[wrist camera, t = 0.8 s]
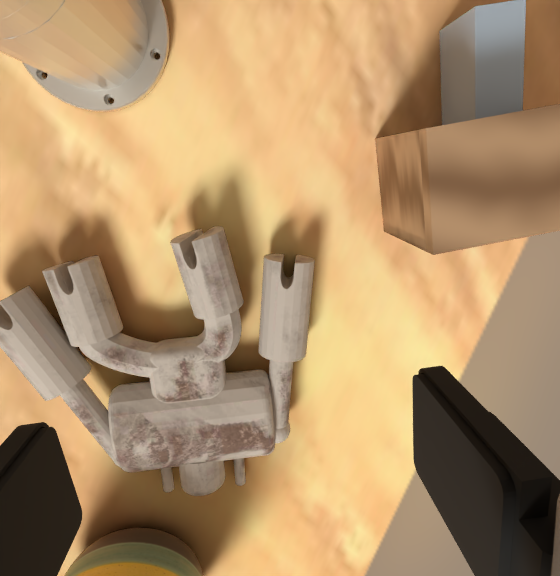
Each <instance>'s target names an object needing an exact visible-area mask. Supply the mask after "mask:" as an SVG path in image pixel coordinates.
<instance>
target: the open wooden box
mask: <svg viewBox="0 0 560 576" xmlns="http://www.w3.org/2000/svg"><path fill="white" fill-rule="evenodd" d="M375 140H376V151H377V162H378V172H379V183H380V193H381V204H382V215H383V225H384V232H387V233H389V234H391V235H393V236H395V237H397V238H399V239H401V240H403V241H405V242H408V243H410V244H412V245H414V246H416V247H418V248H420V249H422V250H424V251H426V252H429V253H431V254H433V255H435V254H440V253H445V252H451V251H456V250H461V249H466V248H471V247H477V246H482V245H487V244H492V243H497V242H503V241H508V240H513V239H518V238H524V237H529V236H534V235H539V234H544V233H550V232H555V231H560V104H556V105H551V106H545V107H540V108H534V109H529V110H523V111H518V112H512V113H507V114H502V115H496V116H491V117H485V118H480V119H474V120H469V121H463V122H458V123H452V124H447V125H441V126H436V127H430V128H425V129H420V130H415V131H410V132H405V133H400V134H395V135H391V136H386V137H381V138H376V139H375Z"/></svg>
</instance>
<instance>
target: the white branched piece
mask: <svg viewBox="0 0 560 576" xmlns="http://www.w3.org/2000/svg"><path fill="white" fill-rule="evenodd" d="M170 243H171V246H172V249H173V252H174V255H175V258H176V261H177V264H178V267H179V270H180V273H181V276H182V279H183V282H184V286H185V289H186V292H187V295H188V298H189V301H190V304H191V307H192V310H193V313H194V316H195V317H196V318H198V319H204V330H203V332H202V333H201V334H200V335H198V336H195V337H185V338H175V339H166V340H162V341H159V342H157V343H155V342H149V341H144V340H140V339H137V338H133V337H131V336H128V335H125V334H123V333H121V332H120V331H121V330H123V324H122V321H121V319H120V316H119V313H118V310H117V307H116V304H115V301H114V298H113V295H112V293H111V290H110V287H109V284H108V281H107V278H106V275H105V272H104V270H103V267H102V264H101V261H100V258H99V256H91V257H87V258H84V259H82V260H80V261H78V262H76V263H74V262H73V261H69V262H65V263H62V264H59V265H55V266H52V267H49V268H47V269H44V270H42V272H43V275H44V277H45V280H46V282H47V285H48V287H49V290H50V293H51V295H52V298H53V300H54V303H55V305H56V308H57V311H58V313H59V316H60V318H61V321H62V323H63V326H64V329H65V331H66V333H65V332H64V331H63V329H62V328H61V327H60V325H59V324H58V323H57V321H56V320H55V319H54V318H53V316H52V315H51V314H50V312H49V311H48V310H47V308H46V307H45V306H44V304H43V303H42V302H41V301H40V299H39V298H38V297H37V295H36V294H35V293H34V291H33V290H32V289H31V287H30V286H27V287H25V288H23V289H22V290H20V291H18V292H16V293H14V294H13V295H11V296H9V297H7V298H5V299H3V300H1V301H0V347H1V348H2V350H3V351H4V352H5V353H6V354H7V356H8V357H9V358H10V359H11V360H12V362H13V363H14V364H15V365H16V366H17V368H18V369H19V370H20V371H21V372H22V373H23V375H24V376H25V377H26V378H27V379H28V381H29V382H30V383H31V384H32V385H33V387H34V388H35V389H36V390H37V391H38V393H39V394H40V395H41V396H42V397H43V399H44V400H45V401H46V400H51V399H53V398H55V397H57V396H59V395H60V396H61V397H62V399H63V400H64V401H65V402H66V404H67V405H68V406H69V407H70V408H71V410H72V411H73V412H74V413H75V415H76V416H77V417H78V418H79V419H80V421H81V422H82V423H83V424H84V426H85V427H86V428H87V429H88V430H89V432H90V433H91V434H92V435H93V437H94V438H95V439H96V440H97V442H98V443H99V444H100V445H101V446H102V448H103V449H104V450H105V451H106V453H107V454H108V455H109V456H110V457H111V459H112V460H113V461H114V463H115V464H116V465H117V466H119V467H121V469H122V470H124V471H126V472H139V471H147V470H155V469H161V476H162V483H163V490H164V492H171V491H172V490H173V489H174V480H173V473H172V467H178V466H179V472H180V480H181V487H182V489H183V491H184V492H186V493H187V494H189V495H193V496H203V495H208V494H210V493H212V492H215V491H216V490H217V489H219V488H220V487H221V486H222V484H223V483H224V481H225V468H224V461H225V460H234V472H235V483H236V485H238V486H241V485H244V484H245V483H246V478H245V464H244V458H248V457H256V456H264V455H269V454H271V453H272V452H273V450H274V448H275V443H281V442H283V441H284V440H286V439H287V437H288V436H289V433H290V424H289V422H288V419H289V407H290V395H291V383H292V372H293V362H296V361H299V360H301V359H303V358H304V357H305V355H306V348H307V338H308V327H309V316H310V305H311V295H312V284H313V273H314V262H315V260H314V259H313V258H311V257H307V256H303V255H296V259H295V267H294V274H293V275H292V276H291V277H290V278H287V277H286V276H285V274H284V271H283V264H284V254H268V255H265V256H264V266H263V283H262V299H261V316H260V333H259V354H260V355H261V356H262V357H264V358H266V359H269V360H270V363H269V376H268V374H267V373H266V372H265V371H264V370H250V371H241V372H231V373H226V367H225V360H226V359H227V358H228V357H229V356H230V355H231V354H232V353H233V352H234V350H235V349H236V347H237V345H238V343H239V340H240V336H241V318H240V313H239V308H240V307H241V306H242V305H243V302H244V301H243V297H242V294H241V290H240V287H239V283H238V279H237V276H236V272H235V268H234V265H233V261H232V257H231V254H230V250H229V246H228V243H227V239H226V235H225V232H224V228H223V227H220V226H216V227H212V228H211V229H209V230H208V231H206V232H205V233H203V231H202V229H198V230H194V231H191V232H188V233H185V234H182V235H180V236H177V237H176V238H174V239H172V240H171V242H170ZM66 334H67V335H66ZM76 347H79V348H80V350H81V351H82V352H83V353H84V354H85V355H86V356H87V357H88V358H90V359H91V360H93V361H95V362H97V363H99V364H101V365H103V366H106V367H108V368H111V369H114V370H117V371H120V372H124V373H127V374H132V375H136V376H142V377H149V378H150V381H149V382H139V383H130V384H121V385H118V386H117V387H115V388H114V389H113V390H112V392H111V395H110V398H109V406H108V410H107V409H106V408H105V406H104V405H103V404H102V403H101V401H100V400H99V399H98V397H97V396H96V395H95V394H94V392H93V391H92V390H91V388H90V387H89V386H88V385H87V383H86V382H85V381H84V380H83V378H84V377H85V376H86V375H87V374H88V373H89V372H90V370H91V366H90V365H89V363H88V362H87V361H86V359H85V358H84V357H83V355H82V354H81V353H80V352H79V350H78V349H77V348H76Z"/></svg>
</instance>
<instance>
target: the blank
mask: <svg viewBox="0 0 560 576" xmlns="http://www.w3.org/2000/svg"><path fill="white" fill-rule="evenodd" d="M525 15H526V0H514V1H507V2H501V3H494V4H487V5H481V6H475V7H473V8H472V9H470V10H469V11H468V12H466V13H465V14H463V15H462V16H460V17H459V18H457V19H456V20H455V21H453V22H452V23H450V24H449V25H447V26H446V27H444V28H443V29H442V30H440V31H439V33H440V70H441V106H442V125H447V124H452V123H458V122H463V121H469V120H474V119H480V118H485V117H491V116H496V115H502V114H507V113H512V112H518V111H523V83H524V49H525Z"/></svg>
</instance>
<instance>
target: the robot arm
mask: <svg viewBox="0 0 560 576" xmlns="http://www.w3.org/2000/svg"><path fill="white" fill-rule="evenodd" d="M169 36H170V33H169V26H168V19H167V15H166V11H165V8H164V5H163V2H162V0H0V52H2V53H4V54H6V55H8V56H10V57H13V58H15V59H17V60H19V61H21V62H22V63H23V64H24V66H25V68H26V69H27V71H28V72H29V73H30V74H31V75H32V77H33V78H34V79H35V80H36V81H37V82H38V84H40V85H41V86H42V87H43V88H44V89H45V90H47V91H48V92H49V93H50V94H51V95H53V96H55V97H57V98H58V99H60V100H62V101H63V102H65V103H67V104H70V105H72V106H75V107H78V108H81V109H85V110H89V111H98V112H109V111H117V110H121V109H124V108H126V107H129V106H132V105H133V104H135V103H137V102H138V101H140V100H141V99H143V98H144V97H145V96H146V95H147V94H148V93H149V92H150V91H151V90H152V89H153V88H154V86H155V85H156V83H157V82H158V80H159V79H160V77H161V75H162V73H163V70H164V68H165V65H166V62H167V57H168V52H169ZM156 54H160V58H159V59H155V55H156ZM45 73H47V78H46V79H45V77H44V75H45ZM111 98H113V99H114V103H113V104H110V102H109V100H110V99H111ZM413 447H414V464H415V468H416V471H417V473H418V475H419V477H420V478H421V480H422V482H423V484H424V486H425V487H426V489H427V491H428V493H429V495H430V496H431V498H432V500H433V502H434V504H435V505H436V507H437V509H438V511H439V512H440V514H441V516H442V518H443V520H444V521H445V523H446V525H447V527H448V529H449V530H450V532H451V534H452V536H453V537H454V539H455V541H456V543H457V545H458V546H459V548H460V550H461V552H462V554H463V555H464V557H465V559H466V561H467V563H468V564H469V566H470V568H471V570H472V571H473V573H474V575H475V576H560V480H559V479H558V478H557V477H556V476H555V475H554V474H553V473H552V472H551V471H550V470H549V469H548V468H547V467H546V466H545V465H544V464H543V463H542V462H541V461H540V460H539V459H538V458H537V457H536V456H535V455H534V454H533V453H532V452H531V451H530V450H529V449H528V448H527V447H526V446H525V445H524V444H523V443H522V442H521V441H520V440H519V439H518V438H517V437H516V436H515V435H514V434H513V433H512V432H511V431H510V430H509V429H508V428H507V427H506V426H505V425H504V424H503V423H502V422H500V420H499V419H498V418H497V417H496V416H495V415H493V414H492V413H491V412H488V411H487V410H486V409H485V408H484V407H483V406H482V405H481V404H480V403H479V402H478V401H477V400H476V399H475V398H474V397H473V396H472V395H471V394H470V393H469V392H468V391H467V390H466V389H465V388H464V387H463V386H462V385H461V384H460V383H459V382H458V381H457V380H456V379H455V378H454V376H453V375H452V374H451V373H450V372H449V371H448V370H447V369H446V368H445V367H443V366H436V367H429V368H422V369H420V370H419V374H418V375H414V376H413ZM81 520H82V509H81V506H80V503H79V500H78V497H77V494H76V491H75V487H74V484H73V481H72V478H71V475H70V472H69V469H68V466H67V463H66V460H65V457H64V454H63V451H62V448H61V445H60V442H59V439H58V436H57V433H56V430H55V429H54V428H53V427H49V426H48V425H47V424H46V423H44V422H41V423H34V424H27V425H21V426H18V427H17V428H16V429H15V430H14V431H13V432H12V433H11V434H10V435H9V437H8V438H7V439H6V440H5V441H4V442H3V443H2V445H1V446H0V576H57V575H58V572H59V570H60V568H61V566H62V564H63V562H64V559H65V557H66V555H67V553H68V551H69V549H70V546H71V544H72V542H73V540H74V538H75V536H76V534H77V531H78V529H79V527H80V524H81Z"/></svg>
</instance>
